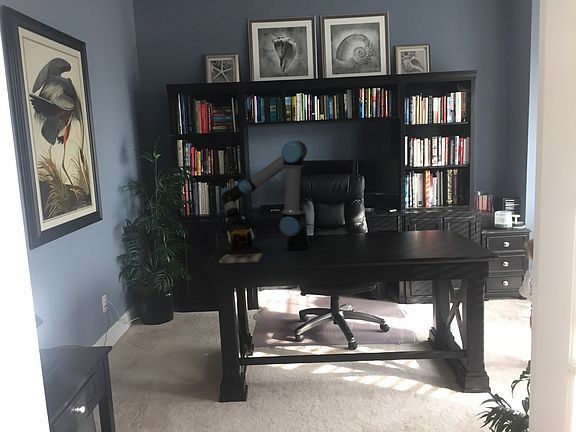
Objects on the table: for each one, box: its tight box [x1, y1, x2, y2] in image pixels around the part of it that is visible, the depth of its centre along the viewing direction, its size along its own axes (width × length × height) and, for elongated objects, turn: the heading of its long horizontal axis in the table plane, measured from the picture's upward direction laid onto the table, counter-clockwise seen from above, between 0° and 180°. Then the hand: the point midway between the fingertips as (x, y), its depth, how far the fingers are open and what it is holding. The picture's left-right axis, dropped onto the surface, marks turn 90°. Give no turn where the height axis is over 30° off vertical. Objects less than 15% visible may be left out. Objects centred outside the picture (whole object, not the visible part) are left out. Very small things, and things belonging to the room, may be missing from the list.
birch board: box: [218, 253, 263, 264], centre depth 283 cm, size 22×14×2 cm, turn 82°
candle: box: [229, 229, 253, 252], centre depth 279 cm, size 10×10×10 cm
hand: (241, 240), depth 280 cm, fingers closed on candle, 13 cm apart
